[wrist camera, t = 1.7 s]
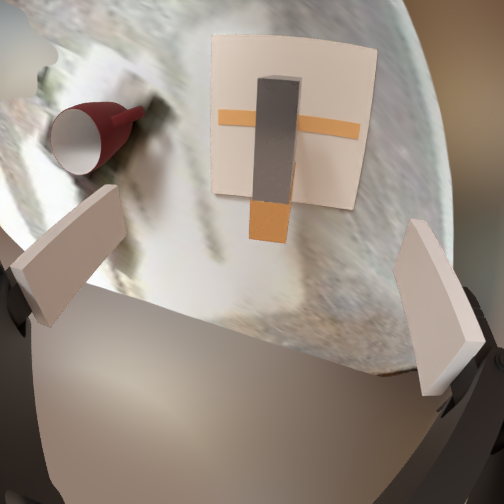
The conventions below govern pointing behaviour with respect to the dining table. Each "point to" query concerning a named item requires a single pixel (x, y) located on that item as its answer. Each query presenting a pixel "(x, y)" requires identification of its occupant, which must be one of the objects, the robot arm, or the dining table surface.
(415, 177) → the dining table surface
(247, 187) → the post base
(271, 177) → the grey slab
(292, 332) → the dining table surface
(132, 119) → the mug
